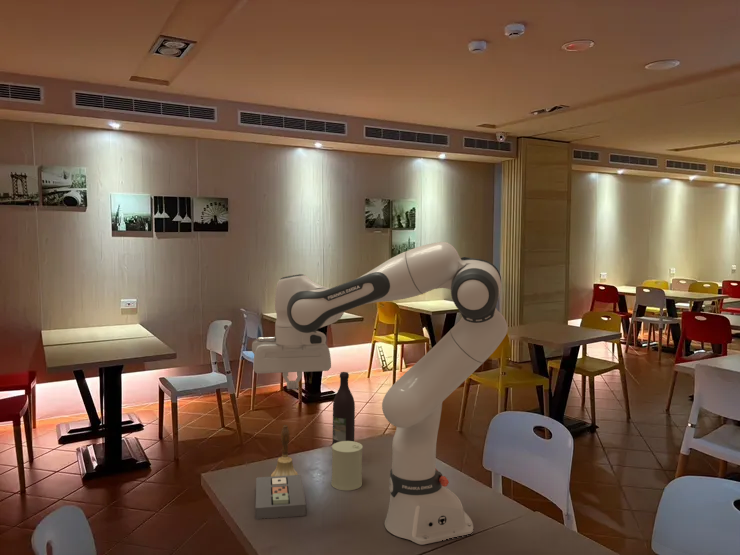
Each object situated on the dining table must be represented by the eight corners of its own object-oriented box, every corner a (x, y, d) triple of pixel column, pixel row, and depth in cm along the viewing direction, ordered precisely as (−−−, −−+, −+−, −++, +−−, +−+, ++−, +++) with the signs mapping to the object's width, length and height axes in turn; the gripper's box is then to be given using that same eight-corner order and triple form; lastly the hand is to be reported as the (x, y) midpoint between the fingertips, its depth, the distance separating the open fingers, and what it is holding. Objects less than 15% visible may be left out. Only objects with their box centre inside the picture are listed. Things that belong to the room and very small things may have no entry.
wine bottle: (330, 460, 187) (331, 370, 184) (351, 458, 188) (352, 369, 186) (334, 469, 180) (335, 375, 178) (356, 467, 181) (357, 374, 179)
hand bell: (303, 474, 175) (304, 424, 174) (286, 484, 168) (286, 431, 167) (283, 468, 180) (283, 419, 178) (265, 477, 173) (265, 426, 171)
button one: (285, 485, 166) (285, 476, 166) (286, 491, 162) (286, 482, 162) (272, 486, 165) (272, 477, 165) (272, 492, 161) (272, 483, 161)
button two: (287, 501, 154) (287, 492, 154) (288, 508, 150) (288, 498, 150) (272, 502, 153) (272, 493, 153) (273, 509, 149) (273, 499, 149)
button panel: (301, 484, 168) (301, 474, 168) (305, 515, 149) (305, 504, 149) (256, 487, 166) (256, 477, 165) (255, 519, 147) (255, 508, 147)
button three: (286, 494, 160) (286, 485, 160) (287, 501, 156) (287, 491, 156) (272, 495, 159) (272, 486, 159) (272, 502, 155) (272, 492, 155)
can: (358, 492, 164) (359, 451, 163) (327, 488, 165) (328, 448, 165) (365, 479, 173) (365, 440, 172) (335, 476, 174) (336, 438, 174)
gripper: (251, 339, 143) (252, 393, 144) (331, 337, 147) (331, 389, 148) (252, 335, 150) (252, 386, 150) (329, 333, 153) (329, 383, 154)
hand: (292, 388), depth 149 cm, fingers closed
